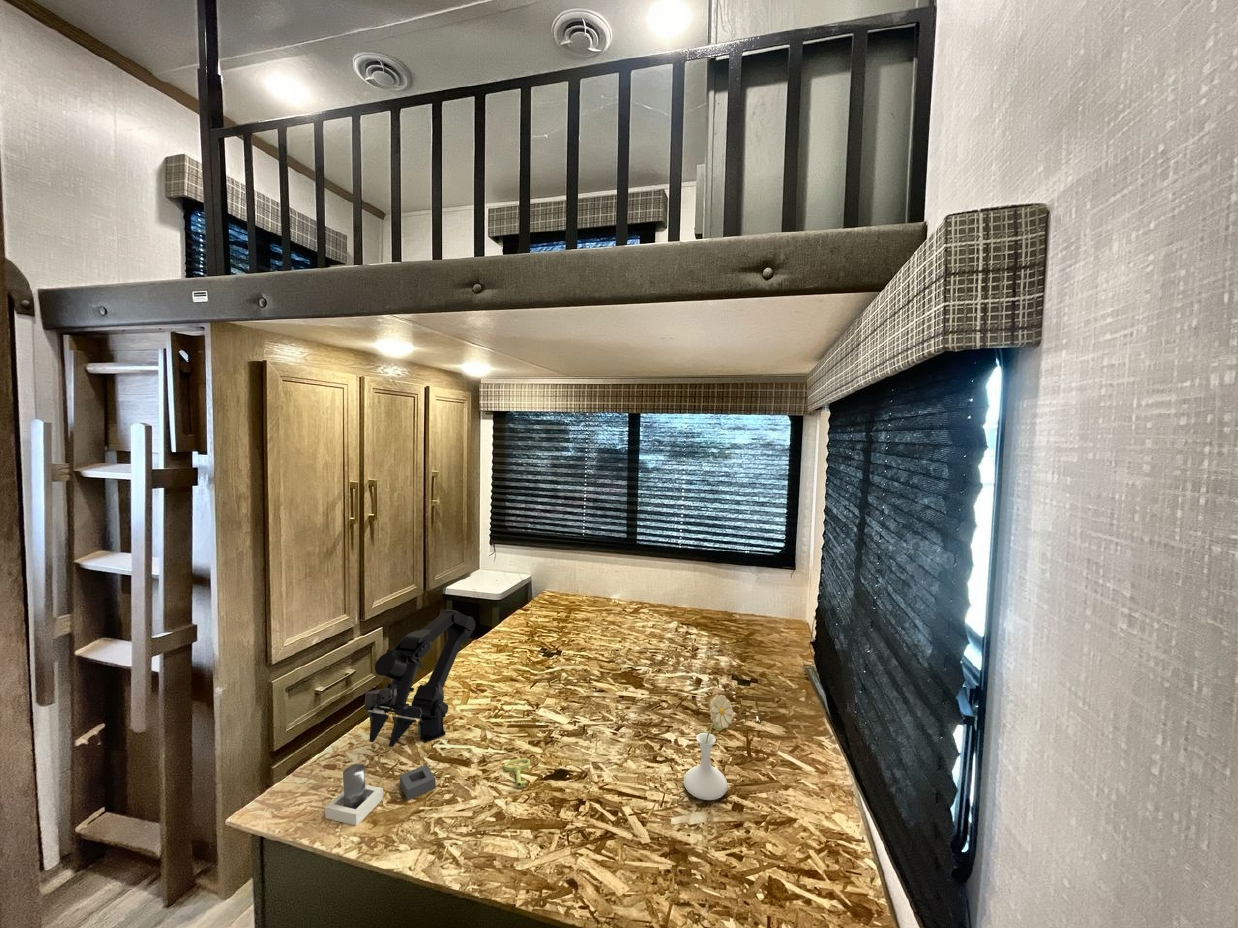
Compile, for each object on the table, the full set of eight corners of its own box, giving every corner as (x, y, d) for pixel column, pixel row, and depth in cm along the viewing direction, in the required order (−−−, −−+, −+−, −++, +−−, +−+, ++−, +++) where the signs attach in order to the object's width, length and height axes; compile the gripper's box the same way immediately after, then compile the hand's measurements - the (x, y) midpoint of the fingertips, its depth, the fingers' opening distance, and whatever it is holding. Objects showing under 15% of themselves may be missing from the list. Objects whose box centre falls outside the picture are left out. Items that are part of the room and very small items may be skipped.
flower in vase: (694, 809, 125) (695, 712, 123) (676, 778, 136) (677, 689, 134) (741, 798, 128) (743, 703, 126) (720, 769, 139) (721, 682, 137)
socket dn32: (427, 773, 137) (426, 764, 137) (435, 788, 132) (435, 778, 132) (400, 785, 133) (399, 775, 133) (407, 800, 128) (407, 789, 127)
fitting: (369, 795, 128) (368, 761, 128) (363, 810, 123) (362, 775, 122) (347, 798, 127) (346, 764, 127) (340, 814, 122) (338, 778, 121)
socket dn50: (353, 792, 131) (353, 781, 130) (383, 798, 128) (382, 788, 128) (325, 818, 122) (325, 807, 122) (356, 825, 120) (356, 814, 119)
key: (517, 792, 131) (517, 784, 131) (501, 766, 141) (501, 759, 141) (543, 782, 135) (543, 774, 135) (525, 757, 145) (525, 750, 145)
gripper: (358, 673, 141) (334, 736, 134) (396, 677, 131) (373, 745, 123) (392, 681, 149) (371, 741, 141) (431, 686, 139) (411, 750, 131)
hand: (380, 744), depth 134 cm, fingers open, 9 cm apart
